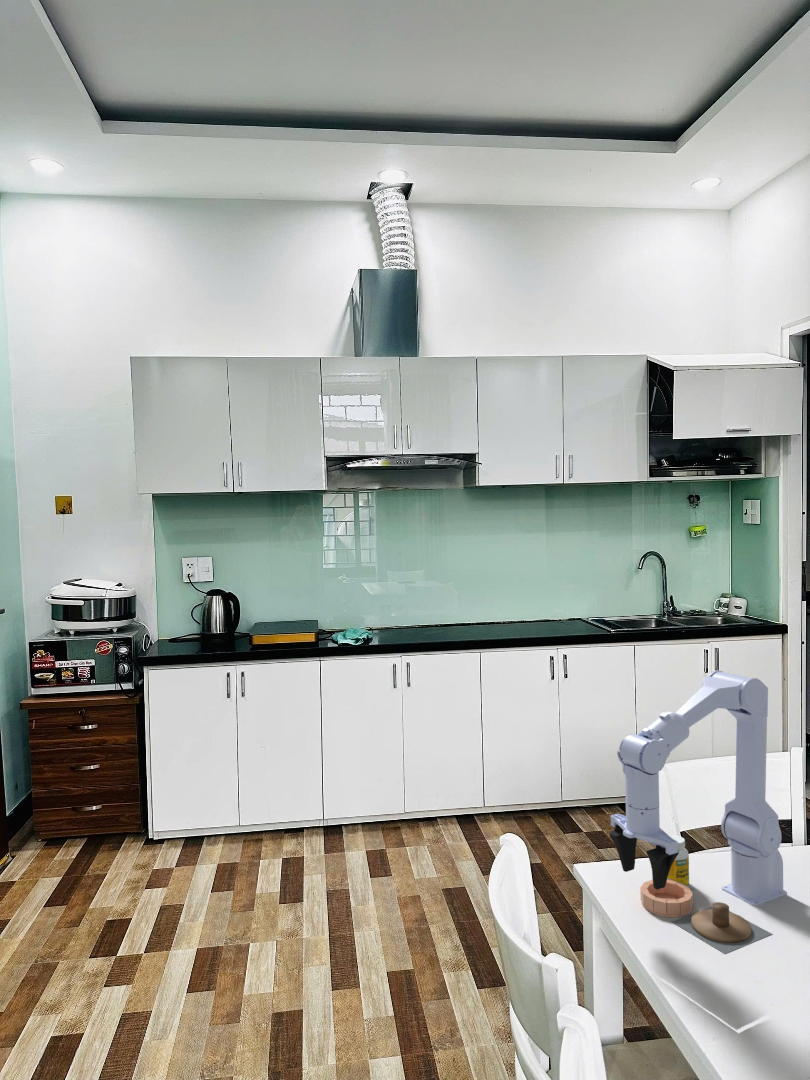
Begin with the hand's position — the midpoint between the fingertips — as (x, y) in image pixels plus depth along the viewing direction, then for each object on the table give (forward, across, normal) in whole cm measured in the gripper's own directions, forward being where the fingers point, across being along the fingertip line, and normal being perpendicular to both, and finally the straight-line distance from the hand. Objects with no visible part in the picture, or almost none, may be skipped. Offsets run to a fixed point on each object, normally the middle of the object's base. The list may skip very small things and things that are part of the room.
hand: (643, 878), depth 141 cm
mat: (+10, +6, +12) cm, 17 cm away
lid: (+10, +6, +12) cm, 17 cm away
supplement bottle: (+10, -10, +18) cm, 23 cm away
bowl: (+10, -5, +10) cm, 15 cm away
